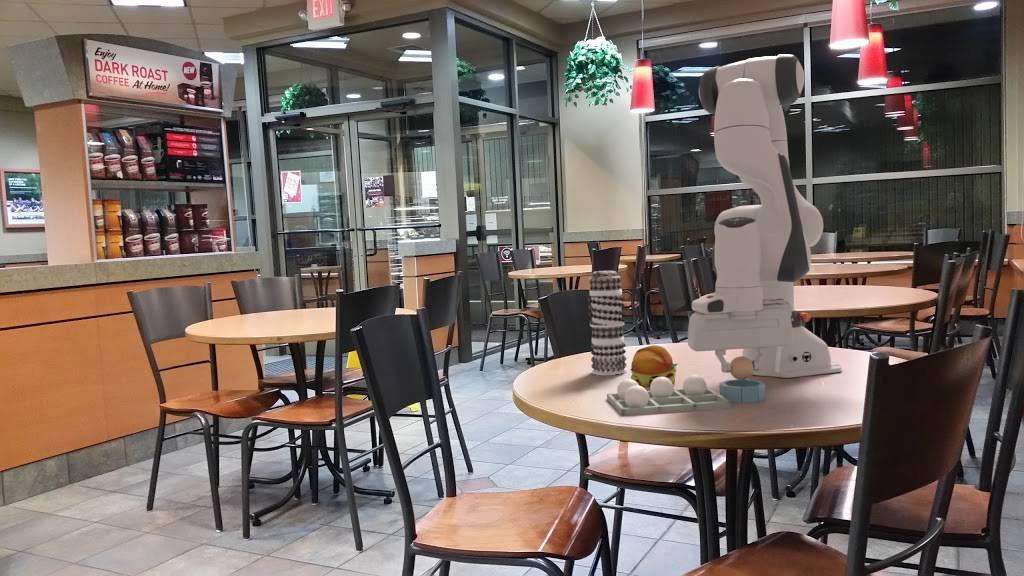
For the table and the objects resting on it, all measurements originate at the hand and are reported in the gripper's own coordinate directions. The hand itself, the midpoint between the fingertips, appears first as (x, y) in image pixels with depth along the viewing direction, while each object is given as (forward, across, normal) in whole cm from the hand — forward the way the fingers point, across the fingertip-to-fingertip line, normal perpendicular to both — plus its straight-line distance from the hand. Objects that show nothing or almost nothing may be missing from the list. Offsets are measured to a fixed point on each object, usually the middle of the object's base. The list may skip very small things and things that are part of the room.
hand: (741, 371), depth 149 cm
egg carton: (+6, +15, 0) cm, 16 cm away
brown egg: (+2, 0, 0) cm, 2 cm away
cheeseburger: (+6, +12, -20) cm, 24 cm away
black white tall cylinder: (+6, +19, -40) cm, 44 cm away
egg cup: (+6, 0, 0) cm, 6 cm away
